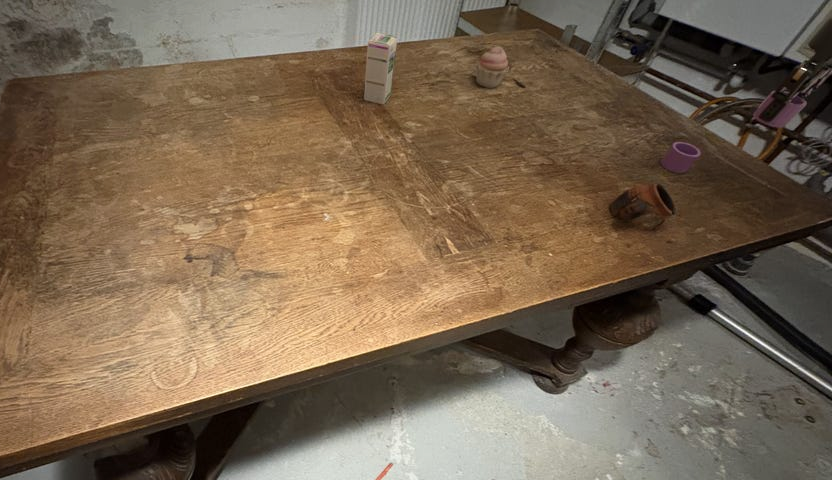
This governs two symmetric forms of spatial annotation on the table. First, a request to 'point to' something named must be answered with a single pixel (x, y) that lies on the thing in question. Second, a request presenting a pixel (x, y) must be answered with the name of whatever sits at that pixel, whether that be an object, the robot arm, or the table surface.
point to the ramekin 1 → (680, 157)
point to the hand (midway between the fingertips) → (772, 116)
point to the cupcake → (492, 68)
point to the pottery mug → (644, 203)
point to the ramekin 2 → (785, 114)
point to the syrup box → (379, 68)
